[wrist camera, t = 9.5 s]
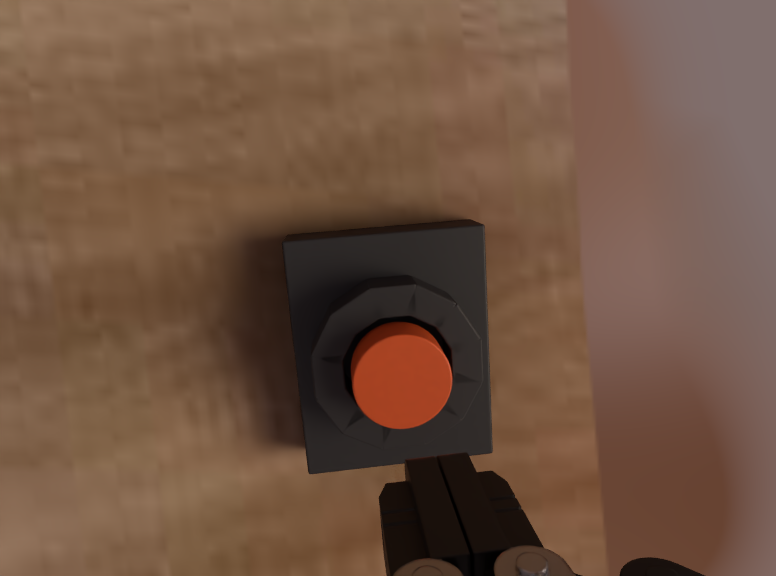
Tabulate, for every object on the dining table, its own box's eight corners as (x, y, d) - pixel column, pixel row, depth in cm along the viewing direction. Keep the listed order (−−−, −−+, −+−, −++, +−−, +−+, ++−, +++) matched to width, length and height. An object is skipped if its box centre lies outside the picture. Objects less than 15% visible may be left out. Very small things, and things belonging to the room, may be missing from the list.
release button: (441, 316, 22) (450, 329, 20) (445, 404, 22) (455, 424, 21) (346, 325, 21) (347, 339, 20) (355, 414, 22) (356, 435, 20)
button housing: (471, 219, 24) (498, 229, 21) (480, 430, 27) (505, 476, 23) (286, 234, 24) (276, 248, 20) (310, 450, 26) (306, 500, 22)
